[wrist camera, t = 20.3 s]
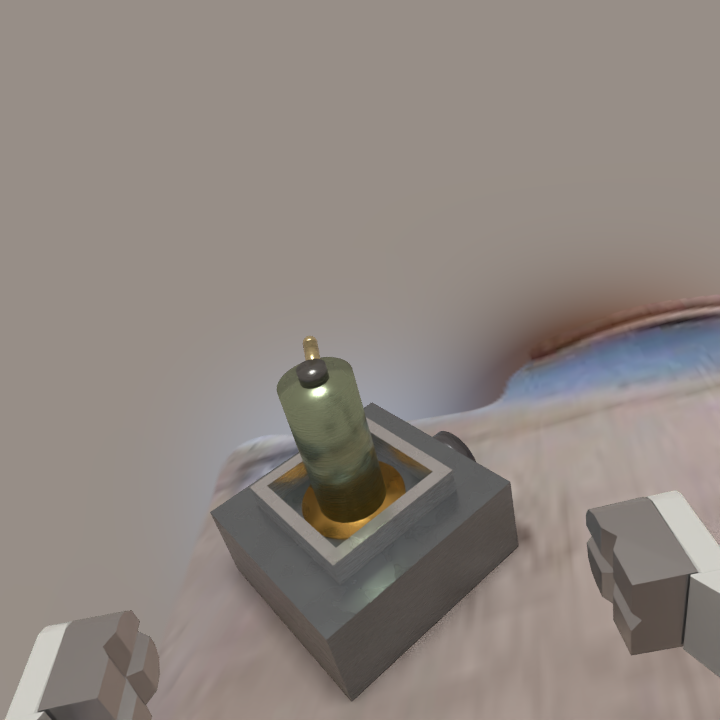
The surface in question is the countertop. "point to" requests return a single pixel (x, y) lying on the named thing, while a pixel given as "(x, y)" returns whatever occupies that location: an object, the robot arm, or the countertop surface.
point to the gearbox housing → (372, 548)
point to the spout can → (332, 435)
